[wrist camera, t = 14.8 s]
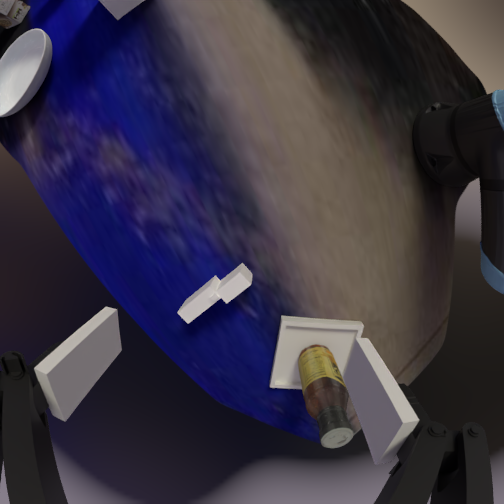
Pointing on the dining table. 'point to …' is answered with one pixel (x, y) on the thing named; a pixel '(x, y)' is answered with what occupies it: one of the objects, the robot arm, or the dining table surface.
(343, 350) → the tray
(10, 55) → the serving bowl
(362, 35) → the dining table surface
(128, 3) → the milk
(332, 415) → the sauce bottle
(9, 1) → the coffee box
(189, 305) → the white stepped block
